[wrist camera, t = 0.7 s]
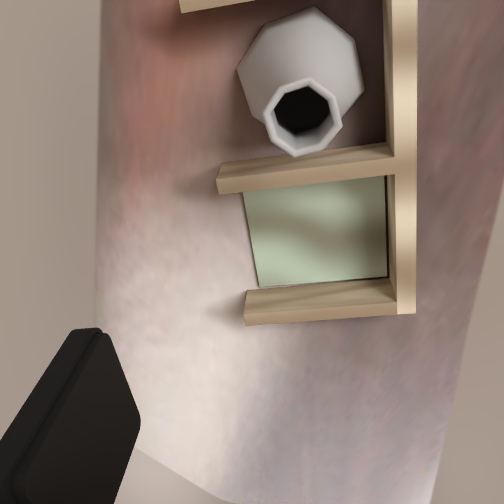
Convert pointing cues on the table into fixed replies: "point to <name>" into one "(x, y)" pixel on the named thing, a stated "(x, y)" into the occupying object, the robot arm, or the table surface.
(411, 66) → the comb rack
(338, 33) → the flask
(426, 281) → the table surface
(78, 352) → the robot arm
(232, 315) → the table surface
